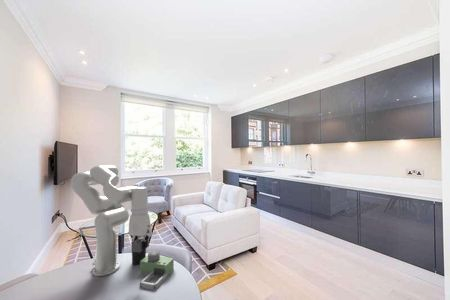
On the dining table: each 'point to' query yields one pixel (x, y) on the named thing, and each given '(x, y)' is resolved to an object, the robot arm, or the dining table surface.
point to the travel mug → (138, 256)
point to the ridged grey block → (138, 245)
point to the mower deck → (155, 269)
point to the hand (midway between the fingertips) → (140, 247)
